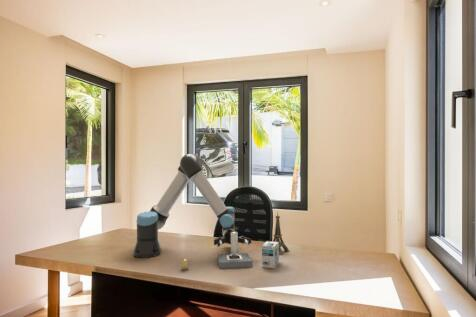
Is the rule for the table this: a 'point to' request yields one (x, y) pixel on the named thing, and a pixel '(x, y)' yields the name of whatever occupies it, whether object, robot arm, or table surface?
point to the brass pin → (184, 264)
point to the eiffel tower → (279, 236)
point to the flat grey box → (234, 261)
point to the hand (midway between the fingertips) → (234, 245)
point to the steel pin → (234, 245)
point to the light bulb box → (270, 254)
